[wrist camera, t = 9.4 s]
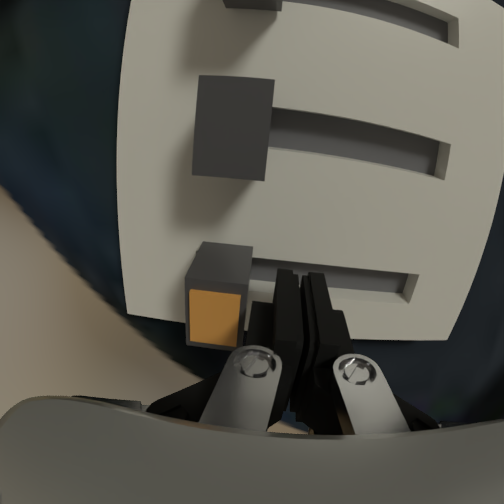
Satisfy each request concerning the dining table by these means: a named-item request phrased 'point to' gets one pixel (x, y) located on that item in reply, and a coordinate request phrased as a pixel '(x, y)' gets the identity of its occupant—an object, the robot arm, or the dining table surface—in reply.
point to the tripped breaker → (217, 296)
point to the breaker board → (319, 153)
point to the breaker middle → (232, 127)
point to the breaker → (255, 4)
